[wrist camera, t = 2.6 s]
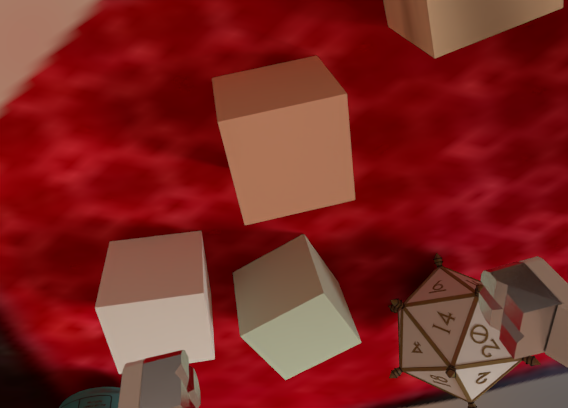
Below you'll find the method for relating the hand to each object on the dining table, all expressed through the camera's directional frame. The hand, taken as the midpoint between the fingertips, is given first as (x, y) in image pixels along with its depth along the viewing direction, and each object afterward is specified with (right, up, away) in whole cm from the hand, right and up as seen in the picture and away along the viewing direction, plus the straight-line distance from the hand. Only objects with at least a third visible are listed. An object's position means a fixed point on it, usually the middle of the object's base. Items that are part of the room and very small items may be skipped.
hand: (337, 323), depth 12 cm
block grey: (-9, -1, +15) cm, 17 cm away
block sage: (-1, -1, +17) cm, 17 cm away
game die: (+8, -2, +20) cm, 22 cm away
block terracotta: (-2, +8, +10) cm, 13 cm away
